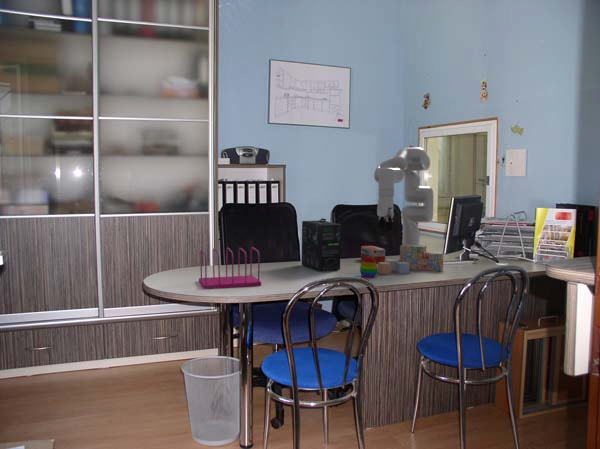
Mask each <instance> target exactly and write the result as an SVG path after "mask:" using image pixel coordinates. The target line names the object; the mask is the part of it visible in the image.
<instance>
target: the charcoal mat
mask: <svg viewBox="0 0 600 449" xmlns="http://www.w3.org/2000/svg"><path fill="white" fill-rule="evenodd" d="M410 274H411V272H409V273H408V274H407V275H410ZM376 275H379V276H385V275H386V276H388V275H400V274H399V273H396V272H395V271H391V274H380V273H378V268H377V274H376Z"/></svg>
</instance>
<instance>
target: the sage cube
mask: <svg viewBox="0 0 600 449" xmlns="http://www.w3.org/2000/svg"><path fill="white" fill-rule="evenodd" d="M385 262H388V263H391V271H395V268H396V262H399V260H397V259H394V258H391V259H390V258H389V259H388V258H387V259H386V258H385Z"/></svg>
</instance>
